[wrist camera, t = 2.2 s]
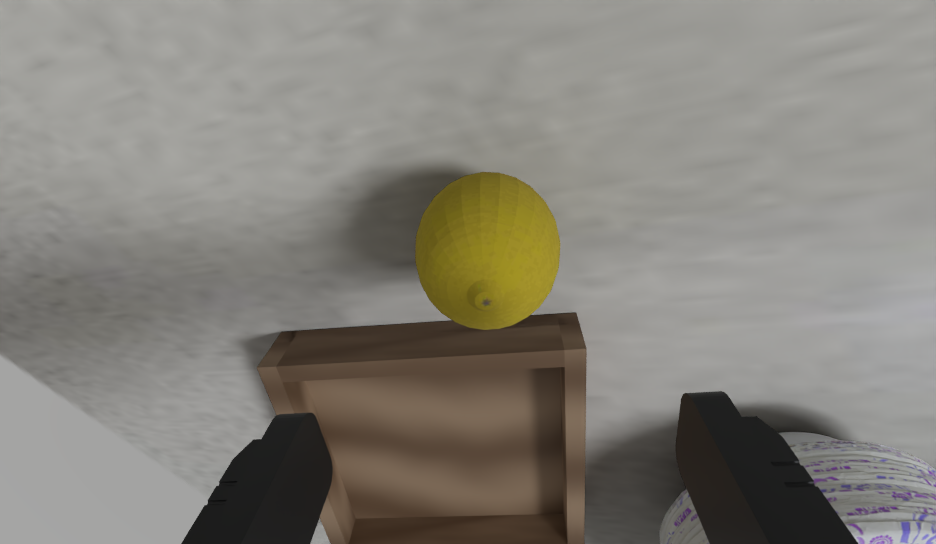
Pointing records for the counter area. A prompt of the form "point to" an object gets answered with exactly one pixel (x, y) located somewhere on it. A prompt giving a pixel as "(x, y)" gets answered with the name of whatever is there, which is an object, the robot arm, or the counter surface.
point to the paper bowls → (847, 492)
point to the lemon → (487, 251)
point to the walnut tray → (444, 428)
